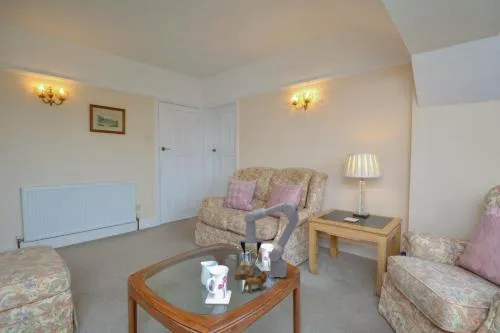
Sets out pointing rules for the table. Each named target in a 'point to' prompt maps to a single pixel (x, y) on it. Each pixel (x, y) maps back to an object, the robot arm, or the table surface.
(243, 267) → the maple cube
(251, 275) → the walnut block
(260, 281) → the lion figurine
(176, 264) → the table surface
